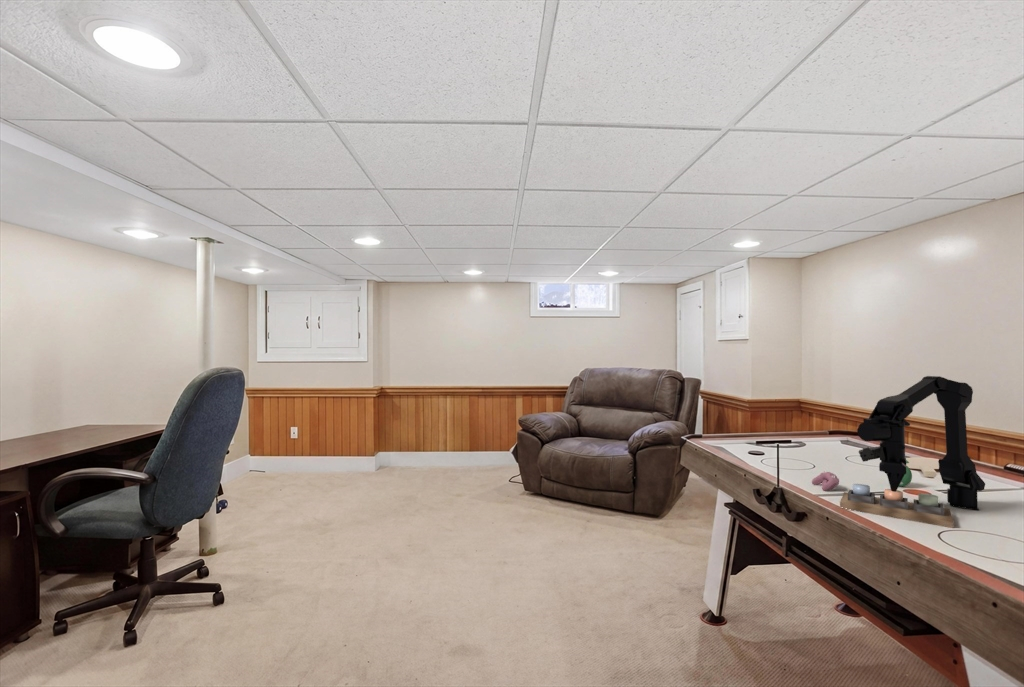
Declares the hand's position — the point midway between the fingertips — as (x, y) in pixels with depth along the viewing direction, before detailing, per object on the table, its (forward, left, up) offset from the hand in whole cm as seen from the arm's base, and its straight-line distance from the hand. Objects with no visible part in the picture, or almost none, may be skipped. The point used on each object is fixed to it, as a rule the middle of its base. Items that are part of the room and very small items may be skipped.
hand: (893, 491), depth 145 cm
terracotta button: (0, 0, -3) cm, 3 cm away
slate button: (+8, 0, -3) cm, 8 cm away
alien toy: (-1, -39, -6) cm, 39 cm away
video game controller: (+20, -18, -6) cm, 27 cm away
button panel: (0, 0, -6) cm, 6 cm away
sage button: (-8, 0, -3) cm, 8 cm away
